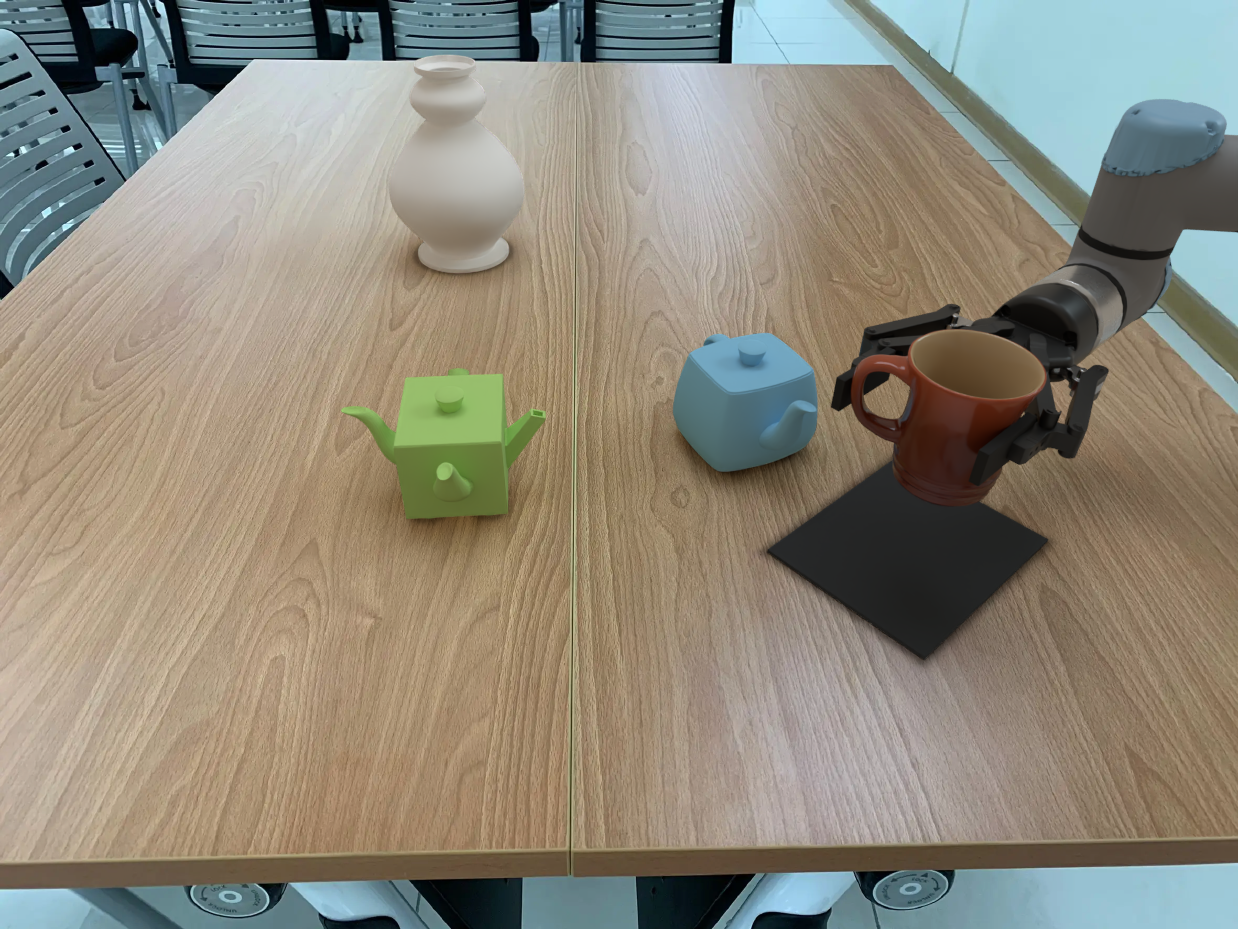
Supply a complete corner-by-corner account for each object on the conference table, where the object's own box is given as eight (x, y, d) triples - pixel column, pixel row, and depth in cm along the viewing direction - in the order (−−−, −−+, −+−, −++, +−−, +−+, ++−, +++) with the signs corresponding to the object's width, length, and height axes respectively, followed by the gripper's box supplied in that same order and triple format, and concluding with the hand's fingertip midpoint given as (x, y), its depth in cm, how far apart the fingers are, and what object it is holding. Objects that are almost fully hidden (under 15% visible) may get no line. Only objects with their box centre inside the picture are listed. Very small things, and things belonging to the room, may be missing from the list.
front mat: (1047, 542, 80) (1048, 539, 80) (924, 660, 69) (925, 657, 69) (896, 459, 89) (897, 456, 89) (766, 552, 78) (767, 549, 78)
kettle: (456, 568, 76) (441, 467, 69) (350, 501, 83) (326, 402, 76) (569, 481, 86) (565, 384, 79) (465, 426, 92) (453, 333, 85)
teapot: (742, 521, 82) (756, 420, 74) (652, 416, 94) (657, 321, 87) (851, 484, 86) (874, 386, 79) (751, 389, 98) (764, 297, 91)
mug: (997, 455, 71) (1040, 339, 64) (1005, 531, 64) (1054, 410, 57) (838, 429, 73) (862, 314, 66) (829, 500, 66) (855, 380, 60)
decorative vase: (439, 295, 114) (414, 93, 99) (376, 246, 125) (345, 58, 109) (552, 258, 123) (546, 68, 107) (484, 216, 134) (470, 37, 118)
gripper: (1178, 423, 70) (1044, 555, 58) (921, 312, 83) (770, 402, 71) (1220, 341, 65) (1083, 466, 53) (941, 237, 78) (782, 320, 67)
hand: (904, 429), depth 62 cm, fingers closed on mug, 11 cm apart
